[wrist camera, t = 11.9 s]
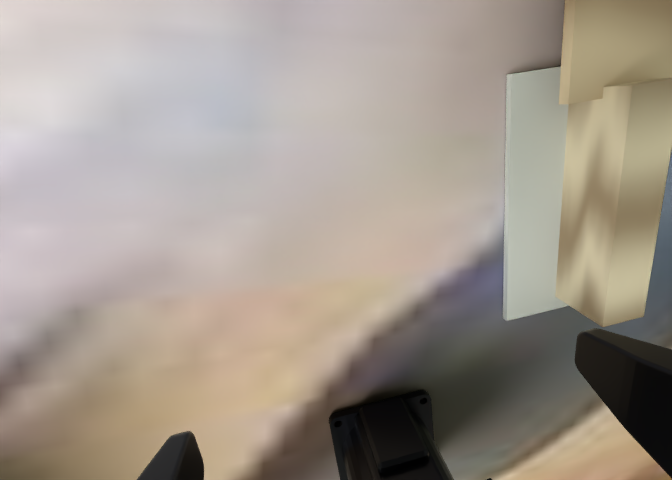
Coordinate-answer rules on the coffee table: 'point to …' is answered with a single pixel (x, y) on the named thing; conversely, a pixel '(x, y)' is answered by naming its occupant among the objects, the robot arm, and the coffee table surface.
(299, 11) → the coffee table surface
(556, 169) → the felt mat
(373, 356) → the coffee table surface
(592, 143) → the spatula
